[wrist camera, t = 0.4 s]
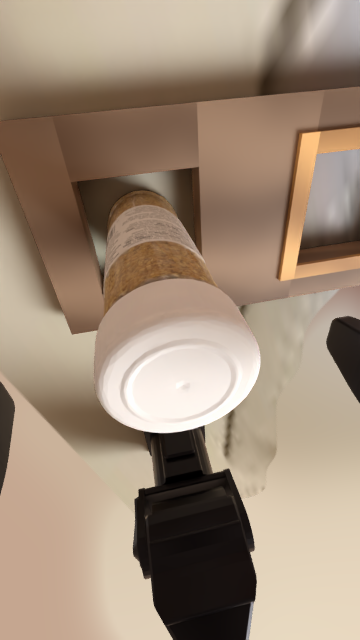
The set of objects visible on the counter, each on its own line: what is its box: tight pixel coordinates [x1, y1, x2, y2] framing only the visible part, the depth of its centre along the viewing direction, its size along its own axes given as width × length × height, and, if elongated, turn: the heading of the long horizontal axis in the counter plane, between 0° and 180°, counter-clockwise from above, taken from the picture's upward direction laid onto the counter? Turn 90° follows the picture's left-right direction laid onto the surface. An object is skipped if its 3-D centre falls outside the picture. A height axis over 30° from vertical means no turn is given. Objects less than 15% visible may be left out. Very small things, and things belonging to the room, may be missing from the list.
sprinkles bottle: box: [94, 190, 260, 433], centre depth 13 cm, size 5×5×14 cm
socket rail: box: [0, 86, 360, 334], centre depth 18 cm, size 12×26×2 cm, turn 94°
